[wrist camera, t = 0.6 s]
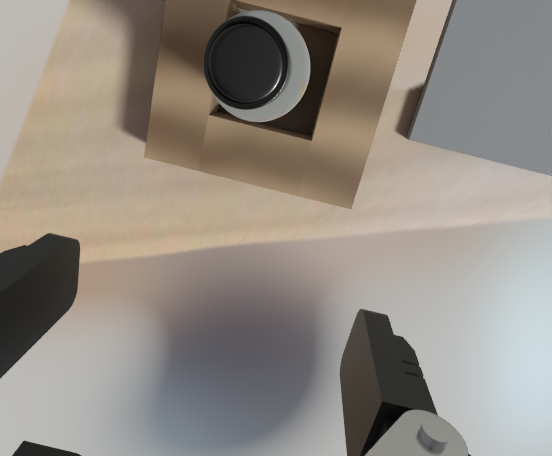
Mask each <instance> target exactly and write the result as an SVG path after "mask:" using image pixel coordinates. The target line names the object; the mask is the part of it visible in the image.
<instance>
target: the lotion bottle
mask: <svg viewBox="0 0 552 456" xmlns="http://www.w3.org/2000/svg"><path fill="white" fill-rule="evenodd" d="M203 63H204V74H205V78H206V81H207V84H208V86H209V88H210V89H211V91H212V93H213V95H214V97H215V98H216V100H217V101H218V102H219V103H220V105H221V106H222V107H223V108H224V109H226V110H227V111H228V112H229V113H231V114H232V115H234V116H236V117H238V118H240V119H243V120H246V121H252V122H266V121H270V120H274V119H276V118H279V117H281V116H283V115H285V114H286V113H288V112H289V111H290V110H291V109H293V108H294V107H295V105H296V104H297V103H298V102H299V101H300V99H301V98H302V96H303V94H304V93H305V90H306V88H307V85H308V82H309V77H310V58H309V53H308V49H307V46H306V44H305V42H304V39H303V38H302V36H301V34H300V33H299V32H298V30H297V29H296V28H295V27H294V26H293V25H292V24H291V23H290V22H289V21H288V20H286V19H285V18H283V17H282V16H280V15H278V14H275V13H272V12H269V11H264V10H251V11H246V12H242V13H239V14H237V15H235V16H233V17H231V18H230V19H228V20H227V21H225V22H224V23H222V24H221V25H220V26H219V27H218V28H217V29H216V30H215V31H214V33H213V34H212V35H211V37H210V39H209V41H208V43H207V46H206V49H205V53H204V62H203Z"/></svg>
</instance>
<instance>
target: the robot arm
mask: <svg viewBox="0 0 552 456" xmlns="http://www.w3.org/2000/svg"><path fill="white" fill-rule="evenodd" d="M79 257H80V244H79V241H78V240H76V239H72V238H68V237H64V236H60V235H56V234H52V233H48V234H46V235H44V236H43V237H41V238H40V239H38V240H37V241H35V242H33V243H32V244H30V245H29V246H26V245H24V246H20V247H17V248H14V249H10V250H7V251H4V252H2V253H0V378H1V377H2V376H3V375H4V374H5V373H6V372H7V371H8V370H9V369H10V368H11V367H12V366H13V365H14V364H15V363H16V362H17V361H18V360H19V359H20V358H21V357H22V356H23V355H24V354H25V353H26V352H27V351H28V350H29V349H30V348H31V347H32V346H33V345H34V344H35V343H36V342H37V341H38V340H39V339H40V338H41V337H42V336H43V335H44V334H45V333H46V332H47V331H48V330H49V329H50V328H51V327H52V326H53V325H54V324H55V323H56V322H57V321H58V320H59V319H60V318H61V317H62V316H63V315H64V314H65V313H66V312H67V311H68V310H69V309H70V307H71V306H72V304H73V302H74V300H75V297H76V293H77V287H78V272H79ZM340 381H341V392H342V404H343V415H344V426H345V437H346V447H347V456H471V455H469V454H468V449H467V446H466V443H465V441H464V439H463V438H462V436H461V435H460V434H459V432H458V431H457V430H456V429H455V428H454V427H453V426H452V425H451V424H450V423H448V422H447V421H446V420H444V419H442V418H441V417H439V416H438V415H437V412H436V409H435V407H434V404H433V401H432V398H431V395H430V392H429V390H428V387H427V384H426V382H425V379H424V378H423V373H422V370H421V368H420V367H419V362H418V359H417V356H416V354H415V351H414V350H413V348H412V347H411V346H410V345H409V344H408V343H407V341H406V340H405V339H404V338H403V337H401V336H396V335H394V334H393V331H392V328H391V324H390V321H389V318H388V316H387V315H385V314H381V313H376V312H372V311H368V310H364V309H360V310H359V312H358V313H357V316H356V318H355V321H354V324H353V327H352V330H351V333H350V336H349V339H348V341H347V344H346V347H345V350H344V353H343V357H342V361H341V367H340ZM12 456H81V455H79V454H77V453H73V452H69V451H65V450H60V449H56V448H52V447H48V446H44V445H40V444H35V443H31V442H27V441H23V442H22V444H21V445H20V446H19V448H18V449H17V450H16V451H15V453H14V454H13V455H12Z"/></svg>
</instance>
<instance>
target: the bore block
mask: <svg viewBox="0 0 552 456" xmlns="http://www.w3.org/2000/svg"><path fill="white" fill-rule="evenodd" d="M415 3H416V0H165V8H164V15H163V22H162V30H161V37H160V44H159V52H158V59H157V66H156V74H155V81H154V88H153V96H152V103H151V110H150V118H149V125H148V132H147V140H146V147H145V154H144V157H145V158H149V159H153V160H157V161H161V162H165V163H169V164H173V165H177V166H181V167H185V168H189V169H193V170H197V171H201V172H205V173H209V174H213V175H217V176H221V177H225V178H229V179H233V180H237V181H241V182H245V183H249V184H253V185H257V186H261V187H265V188H269V189H273V190H277V191H281V192H285V193H288V194H292V195H296V196H300V197H304V198H308V199H312V200H316V201H320V202H324V203H328V204H332V205H336V206H340V207H344V208H348V209H351V208H352V205H353V202H354V198H355V195H356V192H357V189H358V186H359V182H360V179H361V176H362V173H363V170H364V166H365V163H366V160H367V157H368V154H369V150H370V147H371V144H372V141H373V138H374V134H375V131H376V128H377V125H378V122H379V118H380V115H381V112H382V109H383V105H384V102H385V99H386V96H387V93H388V89H389V86H390V83H391V80H392V77H393V73H394V70H395V67H396V64H397V61H398V57H399V54H400V51H401V48H402V45H403V41H404V38H405V35H406V32H407V28H408V25H409V22H410V19H411V16H412V13H413V9H414V6H415ZM238 8H240V9H244V10H248V11H251V10H264V11H269V12H272V13H275V14H278V15H280V16H282V17H283V18H285V19H286V20H288V21H291V22H295V23H299V24H303V25H307V26H311V27H315V28H319V29H322V30H326V31H330V32H334V33H338V36H337V40H336V43H335V47H334V51H333V55H332V59H331V62H330V66H329V70H328V74H327V78H326V81H325V85H324V89H323V93H322V97H321V100H320V104H319V108H318V112H317V116H316V119H315V123H314V127H313V131H312V135H308V134H304V133H300V132H296V131H292V130H288V129H284V128H280V127H276V126H272V125H268V124H264V123H260V122H252V121H246V120H243V119H240V118H238V117H236V116H232V115H228V114H224V113H220V112H218V110H219V105H220V103H219V102H218V101H217V100H216V98H215V97H214V95H213V93H212V91H211V89H210V88H209V86H208V84H207V81H206V78H205V74H204V63H203V62H204V53H205V49H206V46H207V43H208V41H209V39H210V37H211V35H212V34H213V33H214V31H215V30H216V29H217V28H218V27H219V26H220V25H221V24H222V23H224V22H225V21H227V20H228V19H230V18H231V17H233V16H235V15H237V9H238Z"/></svg>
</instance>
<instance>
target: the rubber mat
mask: <svg viewBox="0 0 552 456" xmlns="http://www.w3.org/2000/svg"><path fill="white" fill-rule="evenodd" d="M406 138H407V139H409V140H412V141H416V142H420V143H424V144H428V145H432V146H436V147H440V148H444V149H448V150H452V151H456V152H460V153H464V154H467V155H471V156H475V157H479V158H483V159H487V160H491V161H495V162H499V163H503V164H507V165H511V166H515V167H519V168H523V169H527V170H531V171H535V172H539V173H542V174H546V175H550V176H552V0H453V1H452V4H451V7H450V10H449V13H448V16H447V18H446V21H445V25H444V27H443V31H442V33H441V36H440V39H439V42H438V45H437V48H436V51H435V54H434V57H433V60H432V63H431V66H430V69H429V72H428V75H427V78H426V81H425V84H424V87H423V90H422V93H421V96H420V99H419V101H418V104H417V107H416V110H415V113H414V116H413V119H412V122H411V125H410V128H409V131H408V134H407V137H406Z"/></svg>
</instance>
